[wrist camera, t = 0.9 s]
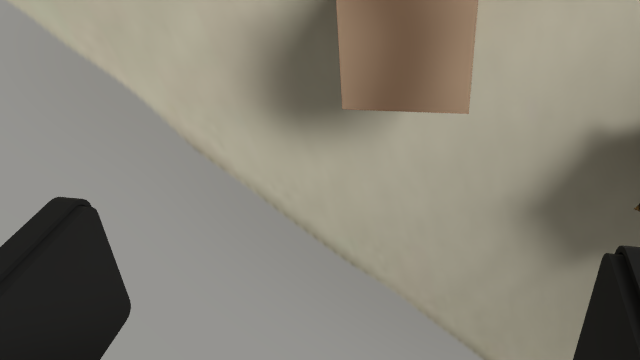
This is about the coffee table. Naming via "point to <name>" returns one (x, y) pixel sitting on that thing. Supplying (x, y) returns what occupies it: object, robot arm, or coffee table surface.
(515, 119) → the coffee table surface
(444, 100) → the walnut block
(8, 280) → the robot arm
